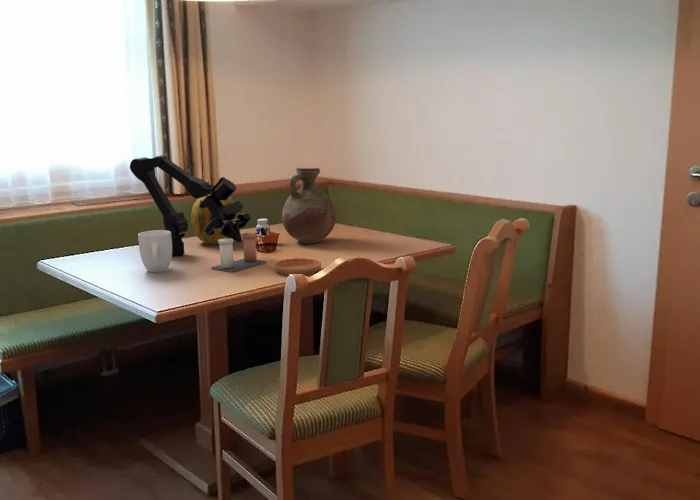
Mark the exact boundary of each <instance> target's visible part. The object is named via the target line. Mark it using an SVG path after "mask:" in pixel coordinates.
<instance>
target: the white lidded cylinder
mask: <svg viewBox="0 0 700 500" xmlns="http://www.w3.org/2000/svg"><path fill="white" fill-rule="evenodd" d="M234 241H235V240H233V239H231V238H224V239H219V240H218V243H219V244H218V245H219V257H220V258H219V259H220V265H221V268H231V267H234V261H235V260H234V249H233V248H234V247H233V246H234V245H233V244H234Z"/></svg>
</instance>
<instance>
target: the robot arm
mask: <svg viewBox="0 0 700 500" xmlns="http://www.w3.org/2000/svg"><path fill="white" fill-rule="evenodd" d="M156 168H159V169H160V170H161V171H163V172H164V173H165V174H166V175H169V176H170V177H171V178H173V179H174V180H175V181H177V182H178V183H180V184H181V185H182V186H183V187H184V189H185V190H186V192H187V193H188V194H189V195H190V196H191V197H192V198H194V199H196V200H197V199H199V198H202V197H205V196H207V197H206V198H205V199H204V200H203V201H200V204H199V208H207V209H208V211H209V212H210V213H211V215H212V216H211V217H210V218H211V219H215V220H211V221H210V222H209V223H208V225H207V226H206V228H205V233H206V234H207V235H208V236H210V235H214V229H221V233H220V234H221V235H224V236H227V237H229V238H231V239H233V240H234V241H235V242H237V243H239V244H241V243H243V238H242V234H241V230H240V229H243V228H245V227H246V225H247V224H248V222H250V220H251V219H252V217H251V215H250V214H249V213H247V212H246V213H245V212H243V213H239V212H242V209H244V205H243V203H242V201H240V200H236V201H235V202H234V203H232V204H229V205H226V206H224V204H223V203H222V202H221V201H222V200H224V201H226V200H227V199H228V198H229V197H231V196H232V195H233V194H234V193H235V192H236V191H237V189H238V188H237V186H236V185H235V183H234V182H232V181H231V180H229V179H227V178H226V177H224V176H222V177H220V178H219V179H218V181H217V183H215V185H214V184H210V182H209V183H208V182H206V180H204V179H201V178H200V177H196V176H193V175H191V174H190V173H188V172H187V171H185V170H184V169H183V168H182V167H180V166H178V165H177V164H176V163H174V162H173V161H172V160H170V159H169V158H168V157H167V156H165V155H158V156H155V157H152V158H149V157H145V156H144V157H138V158H134V159H132V160H131V162H130V164H129V169H130V172H131V173H132V174H133V175H134V176H135V178H136V179H138V180H139V181H141V182H142V183H143V184H144V186H145V188H146V189H147V192H148V193H149V195H150V196H151V198H152V200H153V201H154V204H155V205H156V207H157V208H158V211H160V213H161V216H162V219H163V220H162V221H163V226H164V228H165V229H164V230H166V231H170V232H171V238H172V257H183V256H184V254H185V242H184V241H183V238H184V237H185V235H186V232H187V231H188V229H189V224H188V222H189V221H188V219H187V218H186V217H185V215H184V213H183V212H178V211H176V210H175V208H174V207H173V205H172V203H171V201H170V200H169V198H168V196H167V194H166V193H165V191H164V190H163V188H162V186H161V185H160V183H159V181H158V179H157V177H156V170H155V169H156ZM212 192H213V193H212ZM208 195H210V196H208ZM237 212H238V213H239V215H238V217H237V218H236V219H233V218H234V217H235V216H236V214H235V213H237Z"/></svg>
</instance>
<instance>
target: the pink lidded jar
mask: <svg viewBox="0 0 700 500" xmlns="http://www.w3.org/2000/svg"><path fill="white" fill-rule="evenodd" d="M241 237H242V243H243V246H242V247H243V258H244V261H248V262H250V261H256V260H258V257H257V233H256V232H244V233H242V234H241Z"/></svg>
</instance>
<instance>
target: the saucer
mask: <svg viewBox="0 0 700 500" xmlns="http://www.w3.org/2000/svg"><path fill="white" fill-rule="evenodd" d="M321 267H322V262H321V261H319V260H317V259H312V258H301V257H300V258H286V259H281V260H277V261H275V262H274V264H273V268H274V269H275V270H276V272H278V274H280V275H283V276H288V275H289V274H305V275H304V276H308V275H312V274H315V273H316V272H317V271H319V270H320V268H321Z"/></svg>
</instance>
